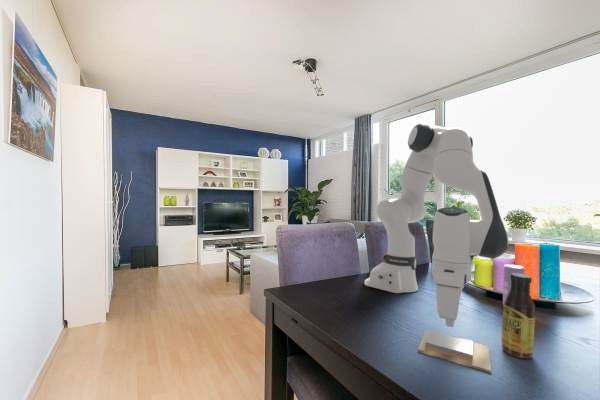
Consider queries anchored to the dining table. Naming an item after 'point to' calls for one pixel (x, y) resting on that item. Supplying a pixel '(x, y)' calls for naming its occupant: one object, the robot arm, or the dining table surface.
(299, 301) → the dining table surface
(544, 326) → the dining table surface
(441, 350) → the tile
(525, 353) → the sauce bottle
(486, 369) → the oak board
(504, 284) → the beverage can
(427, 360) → the dining table surface
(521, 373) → the dining table surface
